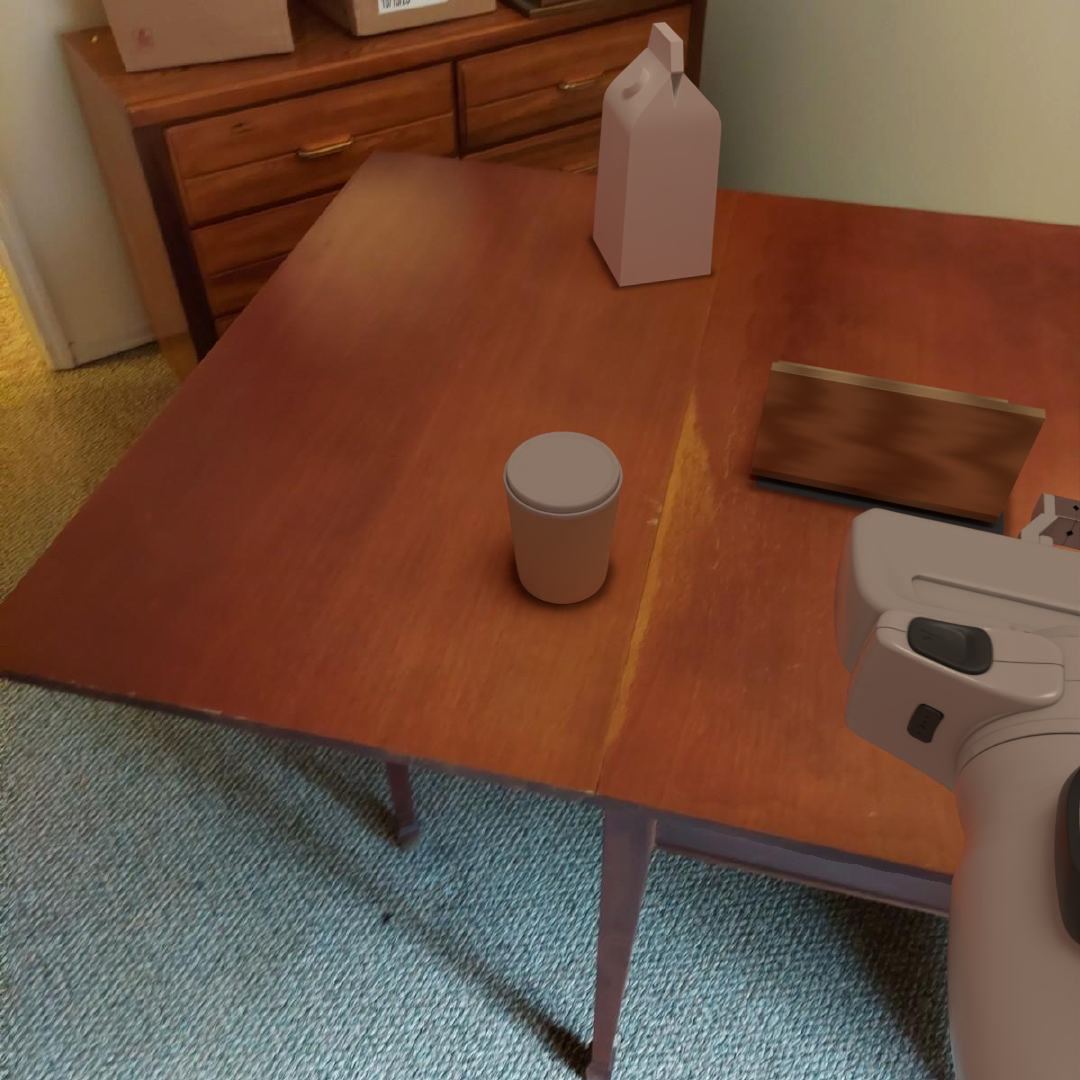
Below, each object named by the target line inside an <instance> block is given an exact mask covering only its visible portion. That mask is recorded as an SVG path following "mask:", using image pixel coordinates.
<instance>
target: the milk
mask: <svg viewBox="0 0 1080 1080" xmlns="http://www.w3.org/2000/svg"><path fill="white" fill-rule="evenodd" d="M684 65H685V64H684V40H683V39H682V38H681V37H680V36H679V35H678V34H677V33H676V32H675V31H674V30H673V29H672V28H671V27H670V26H669V24H668V23H666V22H665V21H663V22H662V21H661V22H653V23H652V26H651V30H650V34H649V39H648V43H647V47H646V48H645V49H644V50H643V51H642V52H640V53H639V54H638V55H637V56H636V57H635V58H634V59H633V60H632V61H631V62H630V63H629V64H628V65H627V66H626V67H625V68H624V69H623V70H622V71H621V72H620V73H619V74H618V75H617V76H616V77H615V78H614V79H613V80H612V81H611V82H610V83H609V85H608V87H607V88H606V90H605V92H604V95H603V100H602V109H601V110H602V112H601V113H602V114H601V124H600V125H601V126H600V136H599V137H600V139H599V150H598V151H599V152H598V165H597V167H598V168H597V179H596V191H595V204H594V205H595V206H594V217H593V218H594V219H593V232H592V239H593V242H594V243H595V246H596V247H597V249H598V250H599V252H600V254H601V256H602V258H603V260H604V261H605V263H606V265H607V266H608V268H609V270H610V272H611V274H612V276H613V277H614V279H615V281H616V283H617V285H618V286H619V288H621V287H628V286H634V285H642V284H649V283H656V282H657V283H658V282H663V281H670V280H671V281H672V280H679V279H686V278H693V277H700V276H707V275H711V273H712V256H713V245H714V244H713V243H714V233H715V232H714V231H715V218H716V217H715V216H716V206H717V205H716V203H717V193H718V192H717V191H718V180H719V179H718V177H719V164H720V153H721V152H720V151H721V139H722V121H721V118H720V114H719V111H718V110H717V109H716V108H715V106H714V105H713V104H712V103H711V102H710V101H709V100H708V99H707V97H706V96H705V95H704V94H703V93H702V91H700V90H699V88H698V87H697V86H696V85H695V84H694V83H693V82H692V81H691V80H690V78H689V77H688V76H687V75H686V74H685V73H684V72H685V71H684V69H685V68H684Z"/></svg>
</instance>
